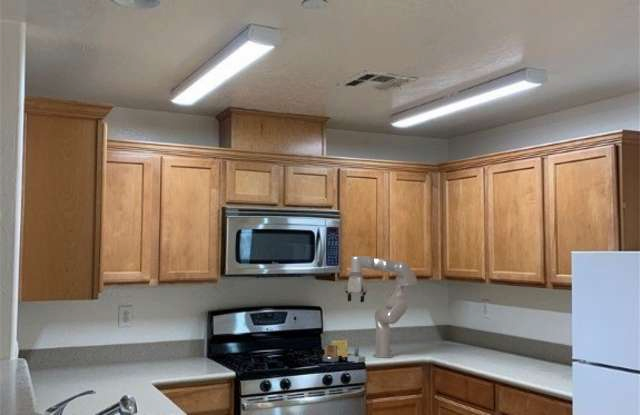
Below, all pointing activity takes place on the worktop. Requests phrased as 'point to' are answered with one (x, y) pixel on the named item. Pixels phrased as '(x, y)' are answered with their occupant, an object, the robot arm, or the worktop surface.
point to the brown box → (330, 351)
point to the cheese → (341, 347)
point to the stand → (356, 356)
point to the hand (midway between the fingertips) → (355, 301)
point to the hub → (330, 359)
